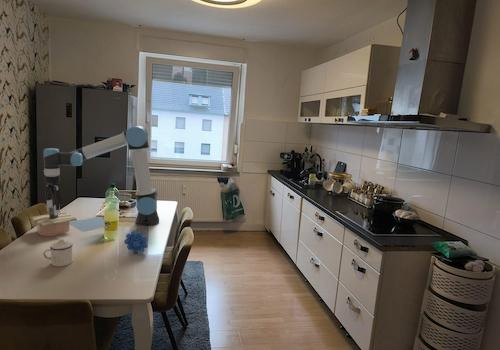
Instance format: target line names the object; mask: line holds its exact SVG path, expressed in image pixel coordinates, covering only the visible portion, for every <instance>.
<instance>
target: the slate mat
mask: <svg viewBox="0 0 500 350" xmlns="http://www.w3.org/2000/svg"><path fill="white" fill-rule="evenodd" d="M102 217H103V216H102ZM102 217H99V216H95V217H89V218H84V219H79V220H78V219H77V220H76V221H71V222H70V226H72V227H74V228H76V229H78V230H79V231H81V232H82V233H85V232H88V231H93V230H97V229H102V228H105V227H104V220H103V218H102Z"/></svg>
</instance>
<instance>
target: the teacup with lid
mask: <svg viewBox="0 0 500 350" xmlns="http://www.w3.org/2000/svg"><path fill="white" fill-rule="evenodd" d="M47 252H50V254H51V255H50V257H48V256H47V255H46V253H47ZM42 255H43V258H44V259H45V260H51V265H52V266H54V267H59V268H60V267H66V266H68V265H70V264H72V263H73V243H72V241H68V240H65V239H63V238H59V239H58V241H56V242H53V243H52V244H51V245H50V247H49V248H48V249H45V250H44V251H43V253H42Z"/></svg>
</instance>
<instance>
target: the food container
mask: <svg viewBox="0 0 500 350" xmlns="http://www.w3.org/2000/svg"><path fill="white" fill-rule="evenodd" d="M118 193H119V200H120V201H130V202H131V198H132V194H131V192H127V191H123V192H121V191H119V192H118Z"/></svg>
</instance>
